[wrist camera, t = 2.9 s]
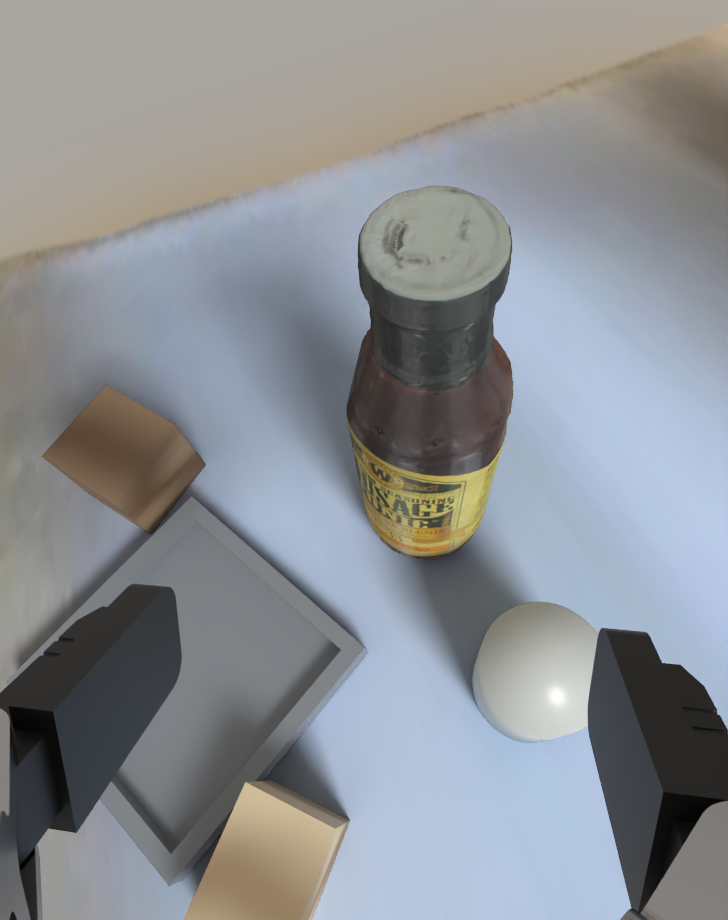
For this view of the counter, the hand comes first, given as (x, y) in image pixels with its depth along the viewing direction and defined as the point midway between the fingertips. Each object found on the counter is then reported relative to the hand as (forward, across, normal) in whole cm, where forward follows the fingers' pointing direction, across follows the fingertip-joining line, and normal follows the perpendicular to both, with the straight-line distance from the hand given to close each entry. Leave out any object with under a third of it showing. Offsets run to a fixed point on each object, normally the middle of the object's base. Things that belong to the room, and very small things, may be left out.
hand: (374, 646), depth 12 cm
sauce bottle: (+22, 0, +7) cm, 23 cm away
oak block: (+9, +5, +19) cm, 22 cm away
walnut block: (+22, +17, +6) cm, 28 cm away
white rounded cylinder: (+15, -5, +12) cm, 21 cm away
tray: (+15, +11, +13) cm, 23 cm away
